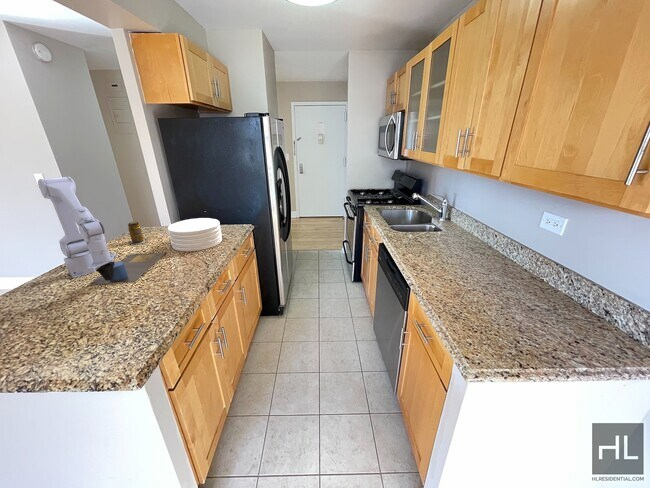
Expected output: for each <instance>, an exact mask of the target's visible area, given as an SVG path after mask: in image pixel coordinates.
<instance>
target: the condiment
mask: <svg viewBox="0 0 650 488" xmlns="http://www.w3.org/2000/svg"><path fill="white" fill-rule="evenodd" d="M127 226H128V228H127V229H128V233H129V236H130V239H131V240H130V245H131V246H132V245H133V246H135V245H141V244H145V243H146V240H145V238H144V236H143V231H142V228H141V226H140V224H139V222H138V221H130V222H128V223H127Z"/></svg>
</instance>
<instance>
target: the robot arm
mask: <svg viewBox="0 0 650 488" xmlns="http://www.w3.org/2000/svg"><path fill="white" fill-rule="evenodd" d="M37 185H38V188H39V191H40V193H41V196H42V197H43V199H47V200H50V201H51V203H52V205H53V208H54V210H55V212H56V215H57V217H58V221H59V222H60V225H61V227H62V230H63V232H64V235H63V237H62V238H61V239H59V242H58V243H59V246H60V247H59V248H60V251H61V252H62V254H63V255H64V258H63V262H64V264H65V266H66V269H67V273H68V274H69V276H71V278H73V279H74V278H78V277H82V276H85V275H88V274H92V273H98V274H100V276H101V275H102V276H103V278H104V279H105V280H106V281H107V280H112V279H113V267H114V264H115V263H114V262H115V259H116V258H118V256H117V253H116V252H112V253H111V252H110V250H109V248H108V244H107V242H106V237H105V234H106V233H105V232H106V230H105V226H104V225H103V223H102V222H101V221H100V220H99V219H98V218H95V217H94V216H93V214H92V213H91V211H90V210H89V208H88V207H87V206H83V205H82V204H81V202H80V201H79V199H78V197H77V195H76V193H77V185H76V182H75V181H74V179H73V178H72V177H71V176H63V177H52V178H49V177H48V178H39V179H38V180H37ZM103 234H104V235H103ZM104 237H105V238H104Z"/></svg>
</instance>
